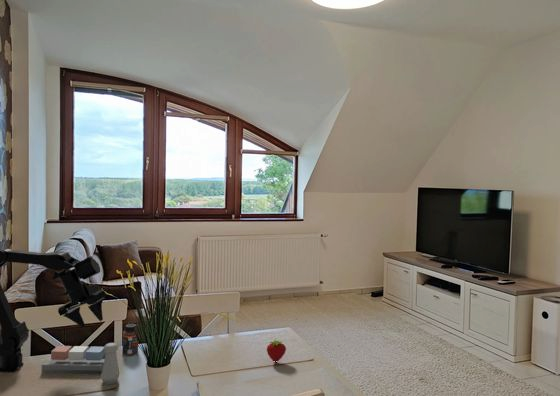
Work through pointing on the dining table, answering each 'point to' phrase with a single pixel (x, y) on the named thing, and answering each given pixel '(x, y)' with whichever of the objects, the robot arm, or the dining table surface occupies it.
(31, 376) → the dining table surface
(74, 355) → the off-white square block
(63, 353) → the key red
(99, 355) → the blue-grey square block
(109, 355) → the salt shaker
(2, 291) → the robot arm
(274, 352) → the strawberry
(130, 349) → the supplement bottle
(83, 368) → the panel
